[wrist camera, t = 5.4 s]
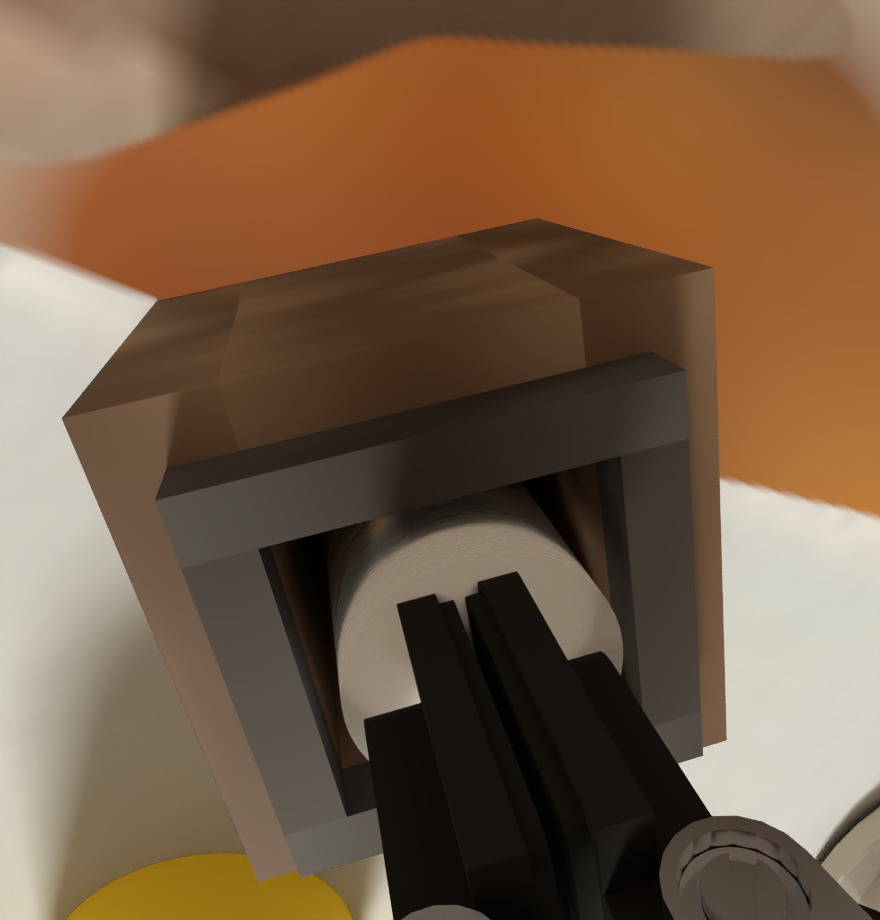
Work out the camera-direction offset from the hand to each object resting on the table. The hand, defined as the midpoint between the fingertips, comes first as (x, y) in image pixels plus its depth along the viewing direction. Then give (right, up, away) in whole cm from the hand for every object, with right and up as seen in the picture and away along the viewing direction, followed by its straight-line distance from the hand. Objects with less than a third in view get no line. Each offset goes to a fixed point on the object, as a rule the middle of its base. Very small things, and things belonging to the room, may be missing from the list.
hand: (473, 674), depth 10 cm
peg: (-1, +3, +7) cm, 8 cm away
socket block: (-2, +4, +9) cm, 10 cm away
